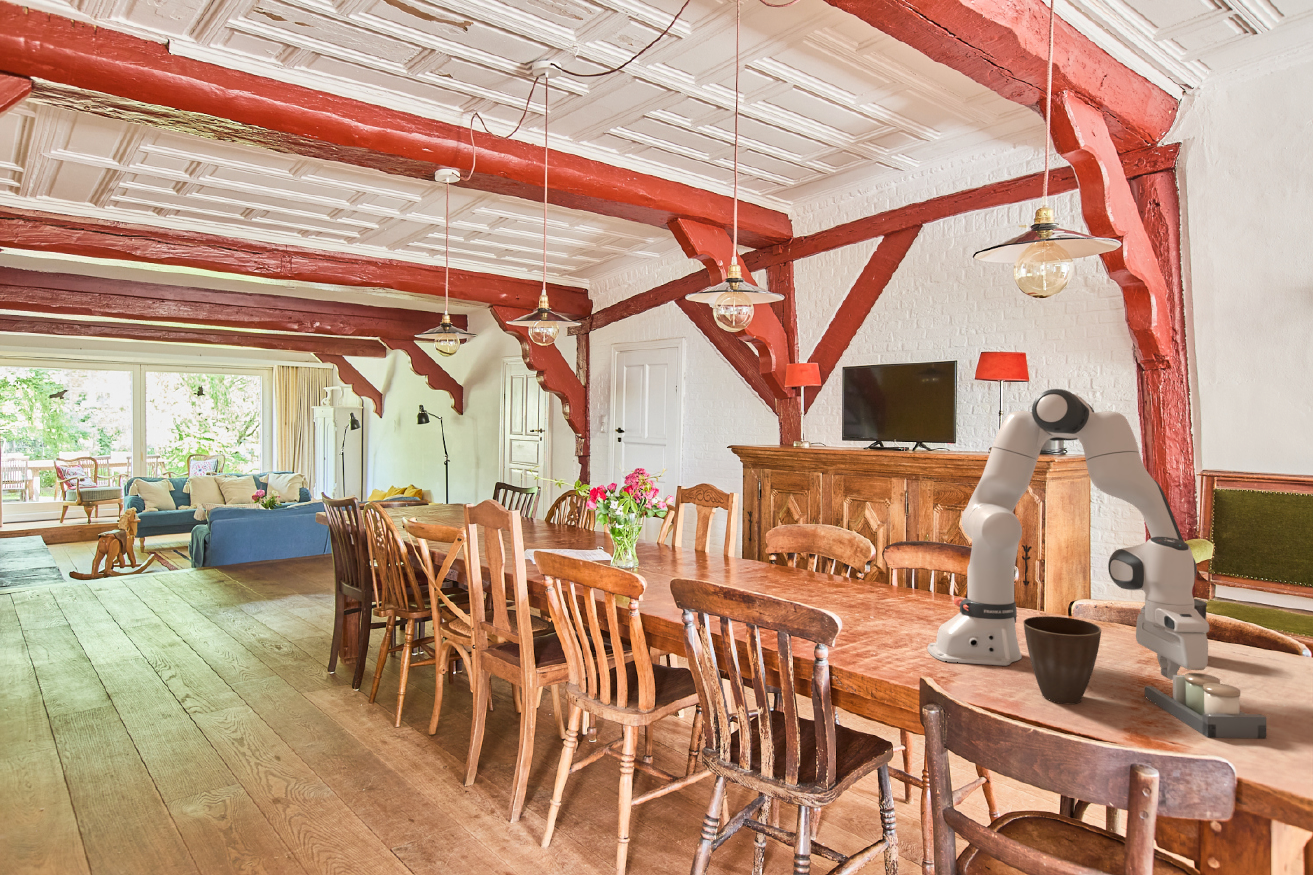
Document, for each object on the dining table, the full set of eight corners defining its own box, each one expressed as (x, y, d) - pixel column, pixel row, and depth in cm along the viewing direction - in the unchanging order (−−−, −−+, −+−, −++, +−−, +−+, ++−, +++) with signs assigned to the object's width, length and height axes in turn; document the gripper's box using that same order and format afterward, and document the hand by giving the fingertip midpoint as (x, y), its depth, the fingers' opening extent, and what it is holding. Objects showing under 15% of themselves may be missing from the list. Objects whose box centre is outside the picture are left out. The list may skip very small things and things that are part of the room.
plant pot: (1118, 707, 159) (1118, 631, 159) (1057, 714, 156) (1056, 636, 156) (1066, 683, 174) (1065, 614, 173) (1008, 689, 171) (1008, 618, 170)
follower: (1176, 710, 156) (1176, 676, 156) (1166, 704, 160) (1165, 671, 160) (1211, 711, 156) (1211, 677, 156) (1199, 704, 159) (1199, 671, 159)
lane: (1207, 737, 144) (1207, 716, 143) (1144, 697, 164) (1144, 679, 164) (1266, 738, 143) (1266, 717, 143) (1195, 697, 164) (1195, 679, 164)
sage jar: (1178, 711, 156) (1178, 672, 156) (1207, 711, 156) (1207, 673, 156) (1196, 722, 151) (1196, 682, 150) (1227, 722, 150) (1227, 682, 150)
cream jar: (1215, 734, 145) (1215, 693, 145) (1196, 722, 151) (1196, 682, 150) (1247, 735, 144) (1247, 693, 144) (1227, 723, 150) (1227, 682, 150)
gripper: (1127, 602, 174) (1127, 662, 174) (1182, 626, 154) (1181, 693, 154) (1156, 602, 174) (1156, 662, 174) (1215, 626, 153) (1214, 694, 154)
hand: (1168, 677), depth 164 cm, fingers closed
